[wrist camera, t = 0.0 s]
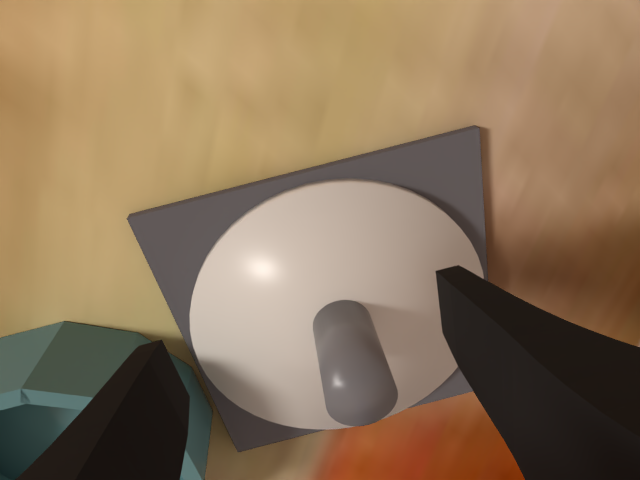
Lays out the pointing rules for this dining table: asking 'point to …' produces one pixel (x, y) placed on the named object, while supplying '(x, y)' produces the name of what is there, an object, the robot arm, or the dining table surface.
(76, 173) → the dining table surface
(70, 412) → the bowl
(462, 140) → the mat
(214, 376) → the lid
